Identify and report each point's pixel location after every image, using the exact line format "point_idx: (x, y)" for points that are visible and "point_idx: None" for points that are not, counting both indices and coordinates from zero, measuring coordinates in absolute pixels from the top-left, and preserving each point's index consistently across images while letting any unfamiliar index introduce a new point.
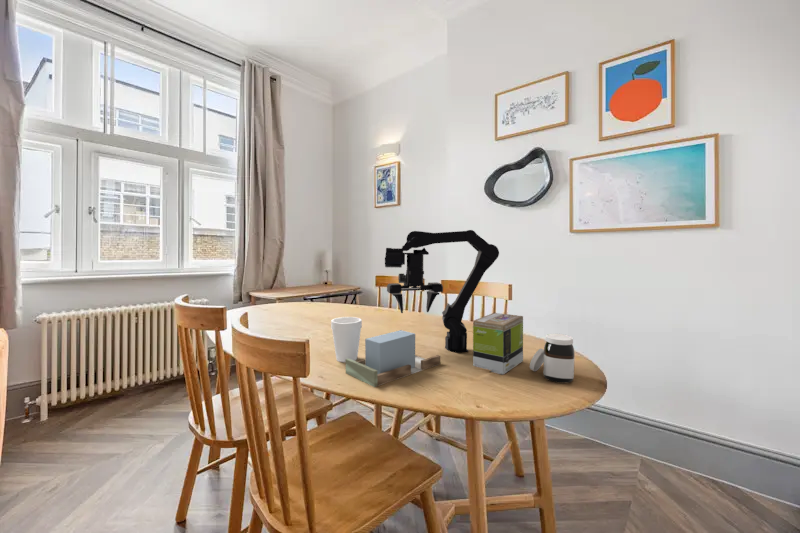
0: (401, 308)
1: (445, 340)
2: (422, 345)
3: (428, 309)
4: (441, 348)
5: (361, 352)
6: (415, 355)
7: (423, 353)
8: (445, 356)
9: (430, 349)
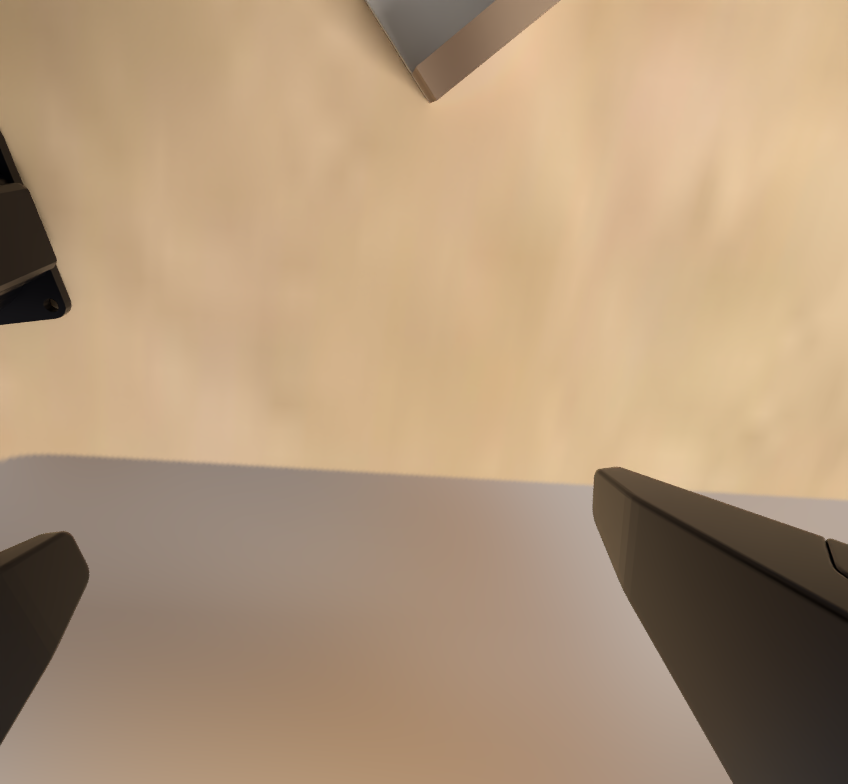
0: (688, 497)
1: (11, 277)
2: (283, 400)
3: (4, 560)
4: (109, 302)
5: (835, 256)
6: (386, 33)
7: (292, 163)
8: (60, 25)
9: (216, 282)
